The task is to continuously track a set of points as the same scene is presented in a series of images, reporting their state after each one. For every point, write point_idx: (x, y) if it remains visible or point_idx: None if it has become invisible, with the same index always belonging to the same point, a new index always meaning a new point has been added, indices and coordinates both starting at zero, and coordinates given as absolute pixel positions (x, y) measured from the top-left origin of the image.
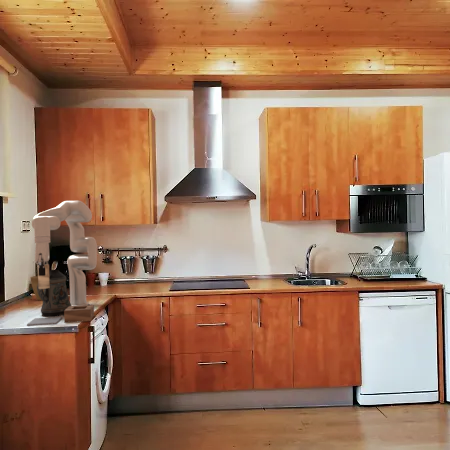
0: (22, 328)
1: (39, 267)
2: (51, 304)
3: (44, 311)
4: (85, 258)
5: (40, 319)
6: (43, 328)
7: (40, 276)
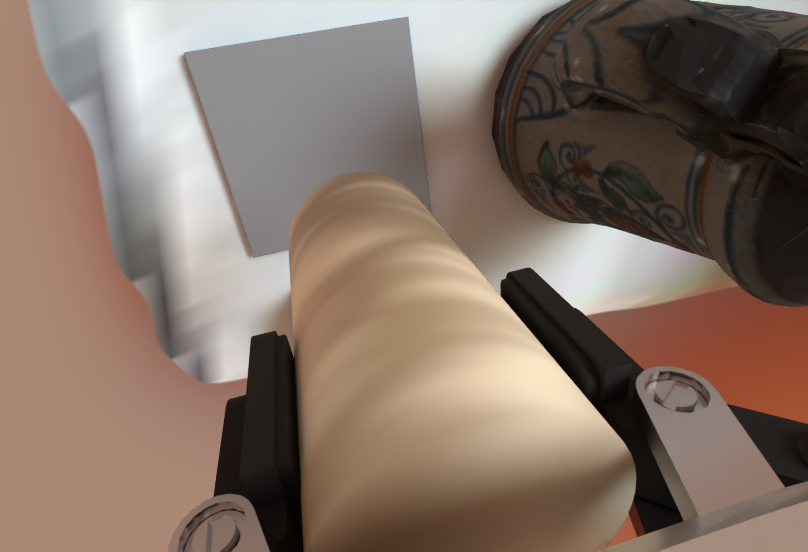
0: (88, 55)
1: (187, 547)
2: (543, 128)
3: (522, 57)
4: None
5: (358, 92)
6: (116, 228)
7: (295, 331)
